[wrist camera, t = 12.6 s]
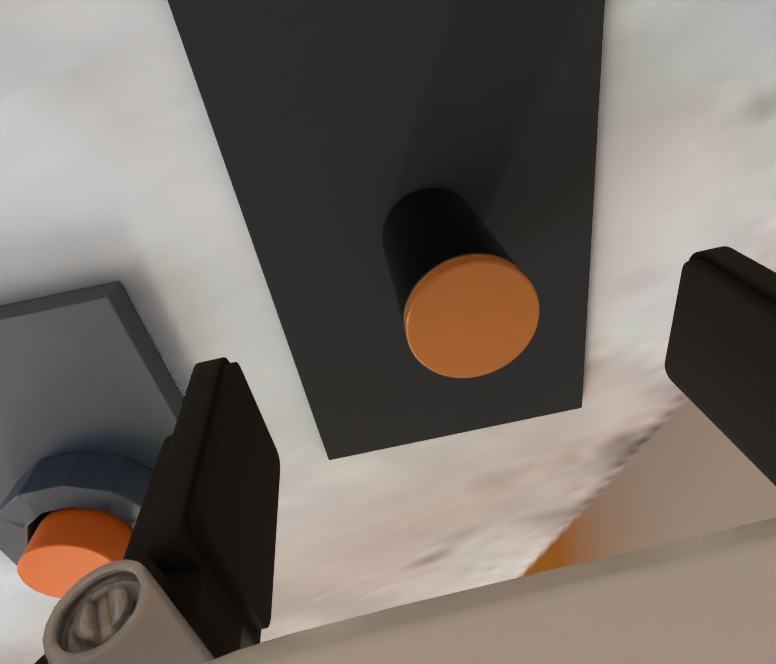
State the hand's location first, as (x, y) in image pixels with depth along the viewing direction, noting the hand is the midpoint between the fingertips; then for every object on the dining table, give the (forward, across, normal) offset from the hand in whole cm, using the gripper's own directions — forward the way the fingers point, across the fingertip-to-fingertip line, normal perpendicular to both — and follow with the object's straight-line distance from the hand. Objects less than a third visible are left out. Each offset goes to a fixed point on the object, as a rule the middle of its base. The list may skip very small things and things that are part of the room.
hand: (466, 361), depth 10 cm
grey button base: (+9, +15, +6) cm, 19 cm away
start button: (+6, +15, +9) cm, 19 cm away
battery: (+8, -1, +1) cm, 8 cm away
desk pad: (+8, -1, 0) cm, 8 cm away
